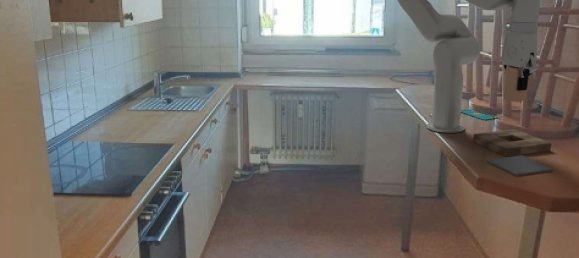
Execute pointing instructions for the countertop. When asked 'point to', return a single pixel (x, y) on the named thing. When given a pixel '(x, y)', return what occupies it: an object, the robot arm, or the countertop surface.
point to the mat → (519, 165)
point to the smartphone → (476, 114)
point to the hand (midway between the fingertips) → (515, 87)
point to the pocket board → (511, 142)
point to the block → (513, 85)
